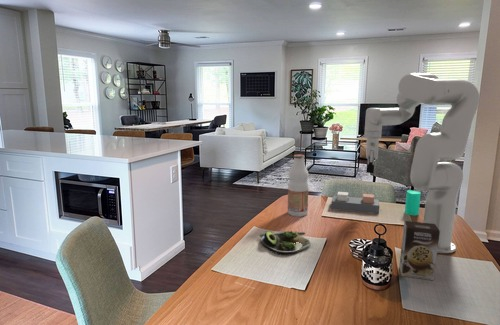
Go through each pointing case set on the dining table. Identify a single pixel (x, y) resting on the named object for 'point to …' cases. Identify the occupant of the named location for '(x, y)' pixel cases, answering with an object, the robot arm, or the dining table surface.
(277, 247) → the salad plate
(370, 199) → the key terracotta
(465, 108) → the robot arm
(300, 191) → the fruit juice
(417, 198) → the candle
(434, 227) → the coffee box
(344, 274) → the dining table surface
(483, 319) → the dining table surface
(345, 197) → the key offwhite
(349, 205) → the block
